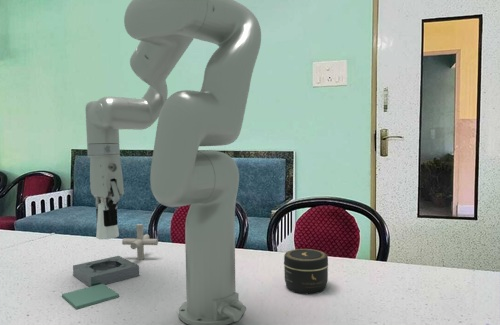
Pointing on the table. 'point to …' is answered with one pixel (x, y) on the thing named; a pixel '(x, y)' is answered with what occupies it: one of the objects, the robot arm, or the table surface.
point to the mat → (90, 296)
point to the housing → (105, 271)
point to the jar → (306, 270)
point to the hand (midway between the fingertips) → (107, 223)
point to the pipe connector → (140, 242)
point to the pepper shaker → (101, 229)
